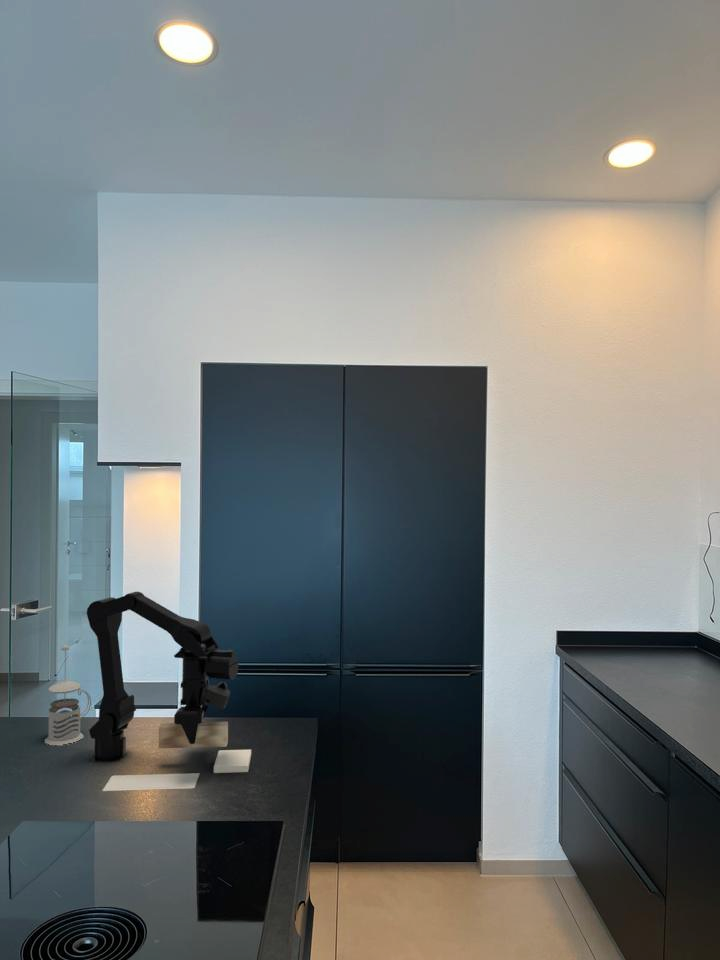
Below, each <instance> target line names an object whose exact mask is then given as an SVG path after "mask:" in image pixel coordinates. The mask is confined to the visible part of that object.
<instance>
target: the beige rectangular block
mask: <svg viewBox="0 0 720 960" xmlns="http://www.w3.org/2000/svg"><path fill="white" fill-rule="evenodd" d="M228 742H229V721H202V723H200V724H198V729H197V734H196V739H195V743H194V744H190V743H189V741H188V738H187V736H186V734H185V732H184V730H183V728H182V726H181V724H175V723H174V722H161V723H160V724H159V727H158V749H186V748H187V749H188V748H189V749H190V748H191V749H192V748H195V749H196V748H224V747H228V746H227V745H228Z"/></svg>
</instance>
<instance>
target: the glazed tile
mask: <svg viewBox="0 0 720 960" xmlns="http://www.w3.org/2000/svg"><path fill="white" fill-rule="evenodd" d="M251 759H252V749H225V750H224V749H223V750H218V752H217V755H216V759H215V762H214V765H213V773H214V774H220V773H222V774H225V773H249V769H250V764H251V761H252V760H251Z"/></svg>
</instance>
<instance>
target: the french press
mask: <svg viewBox="0 0 720 960" xmlns="http://www.w3.org/2000/svg"><path fill="white" fill-rule="evenodd" d="M69 650H70V647H69V645H66V644H64V645H63V646H61V651H64V678H66V675H67V674H66V672H67V671H66V670H67V669H66V668H67V667H66V663H67V661H66V660H67V657H66V656H67V651H69ZM76 691H77V694H78V696H81V695H82V692H83V693H85V694H86V696H87V697H86V698H87V704H86V705H87V706H86V708H85V710H84V711H83V712H82V713H81V707H80V705H79V703H80V701H79V699H77V698H72V697H69V698H66V694H69V693H74V692H76ZM48 692H49V693H51V694H64V696H63V697H64V698H59V699H55V700H53V701H51V702H50V704H49V705H50V708H49V709H48V735H47V737H46V738H45V739H44V740H43V741H45V742H44V744H46V743H47V744H46V745H48V744H49V745H48V746H54V745H57V746H64V745H63V744H67V745H69V744H68V743H72V744H74V743H73V742H75V743H77V742H76V741H78V740H80V739H82V738H83V739H84V734H83V733H82V732H81V726H82V725H81V724H82V723H81V720H82V718H83V717H85V716H86V715H87V714H88V713H89V711H90V709H91V705H92V698H91V695H90V693H88V691H86V690H84V689H82V685H81V684H80V683H78V682H77V681H73V680H61V681H59V682H56V683H54V684H52V685H50V687H48ZM63 709H64V710H63ZM65 709H66V710H65ZM67 709H70V710H67ZM59 710H60V711H59ZM58 711H59V712H58ZM67 718H68V719H67ZM55 727H56V728H55ZM83 739H82V740H83ZM80 741H81V740H80ZM78 742H79V741H78Z"/></svg>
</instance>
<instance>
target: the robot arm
mask: <svg viewBox="0 0 720 960" xmlns="http://www.w3.org/2000/svg"><path fill="white" fill-rule="evenodd" d="M86 608H87V609H86V616H87V620H88V624H89V627H90V629H91V630H92V632H93V633H94V635H95V636H96V639H97V647H98V648H97V649H98V654H99V655H98V656H99V657H98V658H99V664H100V665H99V666H100V673H101V674H100V675H101V684H102V693H103V695H102V698H101V701H100V704H99V710H98V720H97V722H95V724H94V725H92V727H90V728H89V730H88V731H89V736H90V738H91V739H94V758H93V759H92V763H93V762H96V763H97V762H118V761H119V762H120V761H121V759H122V758H124V756H125V755H126V753H127V750H126V749H127V744H126V743H127V738H126V736H124V735H125V734H124V733H125V731H124V730H126V729H127V728H128V726H129V723H130V722H131V721H132V720H133V719H134V716H135V712H136V711H137V708H136V705H135V696H134V694H131V695H129V694H128V693H127V691H126V690H125V687H124V685H125V684H124V676H123V675H124V674H123V669H122V660H121V659H122V658H121V652H120V651H121V650H120V641H119V630H120V626H121V624H122V620H123V613H124V612H127V611H131V612H134V613H135V614H136V615H137V616H140V617H141V618H143V619H146V620H147V621H148V622H150V623H152V624H153V625H155V626H157V627H158V628H160V629H162V630H163V631H166V633H168V634H169V635H170V636H171V638H172V639H173V641H174V642H175V643H176V644H177V645H179V646H180V649H179V651H177V652H176V653H175V654H174V655H173V656H174V657H173V658H175V659H182V672H181V673H182V676H181V677H182V681H181V682H180V688H181V699H180V702H179V703H180V707H179V708H178V709H177V710H176V712H175V714H174V717H173V718H174V720H173V723H175V724H181V726H182V728H183V730H184V732H185V734H186V736H187V738H188V741H189V743H190V744H194V743H195V739H196V734H197V729H198V724H200V723H202V722H204V721H203V720H205V717H206V714H205V713H206V712H207V711H208V709H209V707H210V706H209V705H213V706H216V707H218V708H219V709H222V710H223V709H225V708H226V705H227V704H228V701H229V698H230V695H231V691H230V689H228V685H227V683H226V682H223V681H220V682H219V683H218V684H217V685H215V684H214V685H212V684H210V679H215V680H216V679H218V680H227V681H229V680H230V681H231V680H232V681H233V680H234V679H236V677H237V675H238V672H239V666H240V665H239V662H238V657H237V655H235V654H236V651H235V650H234V649H227V650H224V649H220V646H219V645H218V644H217V642H216V640H215V639H214V637H213V635H212V633H211V629H210V628H211V627H210V626H209V625H207V624H206V623H205V622H202V621H200V620H196V619H193V618H187V617H183V616H180V615H179V614H177V613H175V612H173V611H171V610H170V609H168V608H167V607H164V606H163V605H161V604H159V603H158V602H156V601H154V600H153V599H151V598H149V597H148V596H146V595H145V594H144V593H143V592H140V591H133V592H132V591H131V592H129V593H126V594H124V595H123V596H120V597H117V598H115V597H111V596H110V597H107V598H102V599H100V600H96V601H93V602H91V603H90V604H89V605H88V607H86ZM204 646H205V647H204ZM208 677H209V679H208ZM207 704H209V705H207Z"/></svg>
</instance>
